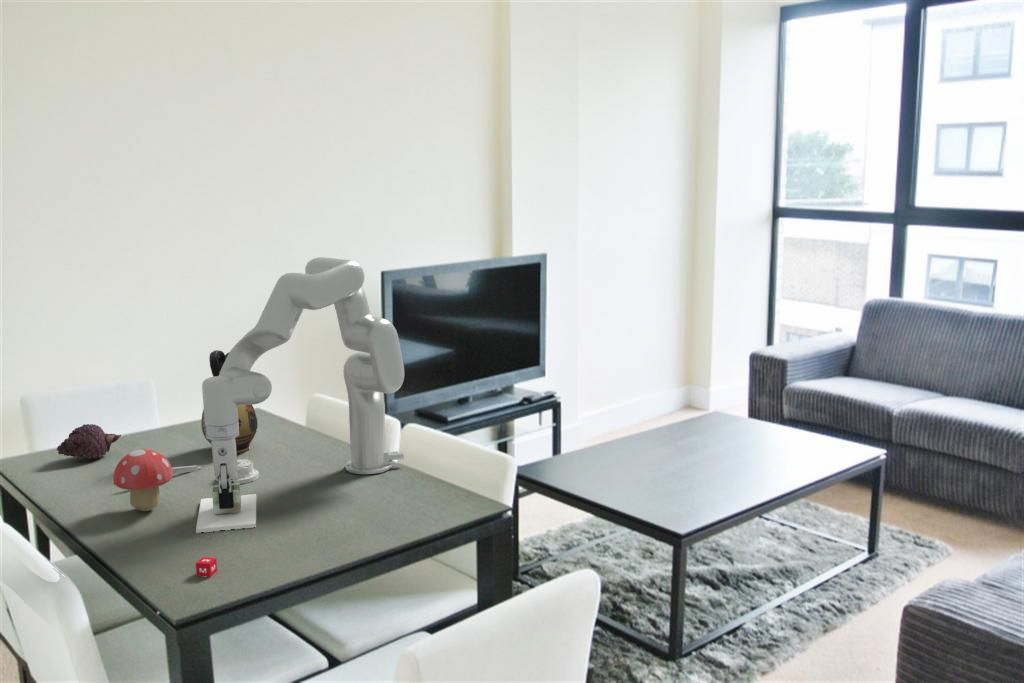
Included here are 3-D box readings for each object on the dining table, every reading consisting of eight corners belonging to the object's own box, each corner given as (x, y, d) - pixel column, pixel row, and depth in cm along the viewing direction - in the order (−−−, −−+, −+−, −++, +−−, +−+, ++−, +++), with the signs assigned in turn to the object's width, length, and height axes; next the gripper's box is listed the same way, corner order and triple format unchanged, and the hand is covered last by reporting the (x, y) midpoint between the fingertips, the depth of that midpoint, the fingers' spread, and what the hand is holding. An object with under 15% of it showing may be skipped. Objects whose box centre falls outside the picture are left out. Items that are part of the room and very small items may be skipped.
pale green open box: (241, 502, 230) (239, 482, 229) (240, 511, 225) (239, 491, 224) (214, 505, 229) (213, 485, 228) (213, 514, 223) (212, 493, 222)
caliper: (135, 491, 244) (133, 467, 243) (133, 490, 245) (131, 466, 244) (202, 469, 261) (200, 447, 260) (199, 469, 261) (198, 446, 260)
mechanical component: (212, 484, 249) (248, 486, 247) (211, 468, 248) (247, 470, 246) (230, 472, 258) (265, 474, 257) (229, 456, 258) (264, 458, 256)
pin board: (256, 497, 238) (255, 476, 237) (256, 527, 219) (254, 504, 218) (201, 502, 235) (199, 481, 234) (196, 533, 216) (194, 510, 215)
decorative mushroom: (105, 512, 229) (99, 452, 226) (157, 497, 239) (152, 439, 236) (134, 525, 221) (129, 463, 218) (186, 509, 231) (182, 449, 228)
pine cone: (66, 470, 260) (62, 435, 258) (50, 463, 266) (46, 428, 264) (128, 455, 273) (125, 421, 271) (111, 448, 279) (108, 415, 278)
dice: (196, 576, 194) (195, 563, 193) (203, 570, 196) (202, 556, 196) (210, 577, 193) (209, 563, 193) (217, 571, 196) (216, 557, 195)
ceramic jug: (217, 441, 285) (210, 342, 280) (267, 443, 283) (261, 343, 278) (191, 459, 269) (183, 354, 263) (243, 461, 267) (236, 355, 261)
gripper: (238, 438, 216) (243, 514, 219) (239, 418, 232) (244, 489, 236) (203, 441, 214) (208, 517, 217) (207, 421, 230) (212, 492, 234)
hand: (227, 502), depth 226 cm, fingers open, 6 cm apart
